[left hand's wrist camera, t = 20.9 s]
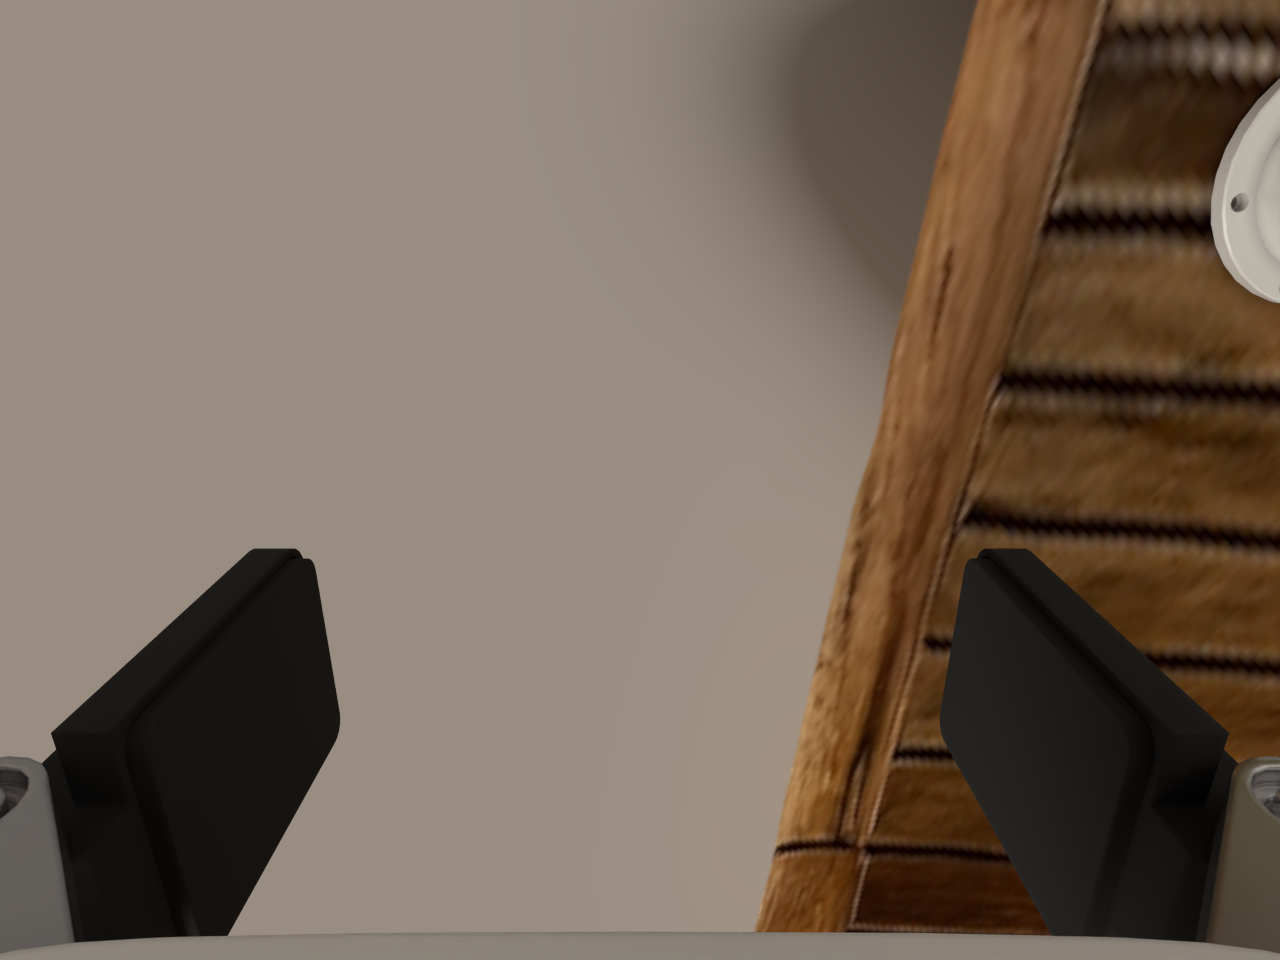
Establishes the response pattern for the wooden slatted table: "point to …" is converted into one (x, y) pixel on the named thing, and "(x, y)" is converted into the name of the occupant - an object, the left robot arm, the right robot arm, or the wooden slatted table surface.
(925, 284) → the wooden slatted table surface
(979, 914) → the wooden slatted table surface
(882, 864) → the wooden slatted table surface
